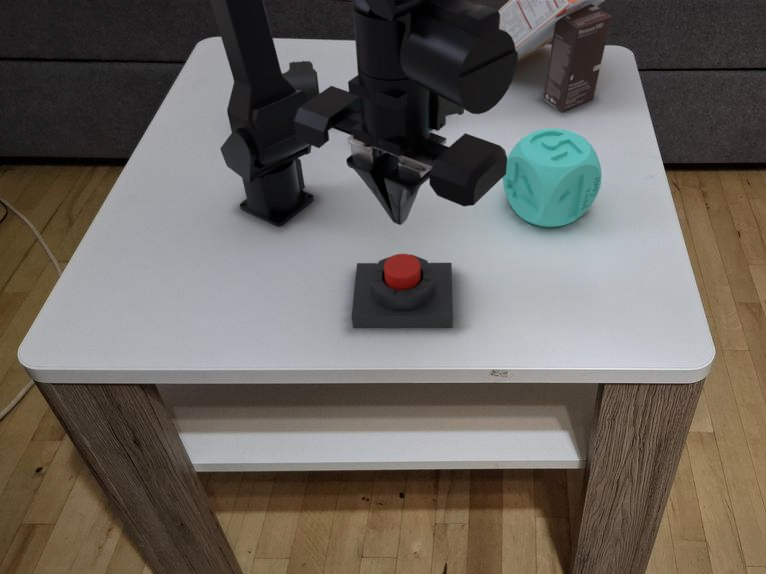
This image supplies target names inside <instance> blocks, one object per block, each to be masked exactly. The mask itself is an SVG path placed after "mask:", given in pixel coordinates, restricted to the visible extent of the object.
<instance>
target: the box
mask: <svg viewBox="0 0 766 574" xmlns="http://www.w3.org/2000/svg"><path fill="white" fill-rule="evenodd" d="M612 18H613V16H612V15H611V14H609V13H608V12H606V11H605V10H603V9H601V8H600V7H598V6H597V7H596V6H594V5H593V4H590V5H588V6H586V7H584V8H581V9H579V10H577V11H575V12H573V13H570V14H568V15H566V16H564V17H562V18H560V19H559V20H558V21H557V22H555V28H554V34H553V40H552V41H551V47H550V53H549V60H548V65H547V66H548V67H547V72H546V77H545V83H544V90H543V95H542V99H543V100H544V102H545V103H547V104H548V105H550V106H551V107H553V108H555V109H556V110H558V111H559V112H561V113H563V112H565V111H567V110H570V109H572V108H575V107H577V106H579V105H582V104H584V103H588V102H590V101H593V100H594V97H595V93H596V88H597V84H598V78H599V75H600V71H601V66H602V60H603V57H604V52H605V49H606V48H605V47H606V43H607V39H608V34H609V30H610V26H611V22H612Z"/></svg>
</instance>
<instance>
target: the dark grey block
mask: <svg viewBox="0 0 766 574" xmlns="http://www.w3.org/2000/svg"><path fill="white" fill-rule="evenodd" d="M288 66H289V68H288V70H287V71H286V72H282V74H283V76H284V77H285V78H286V79H287V80H288V81H289V82H290V83H291V84H292V85H293V86H294V87H295V88H296V89H297V90H302V91H303V92H304V93H305V94H306V96H307V97H308V101H309V100H311V99H312V98H314V97H315V96H317V95H318V94H320V93H321V92H320V87H319V79H318V72H317V71H316V69H315V68H314V64H313V63H312V61H310V60H302V61H292V62H291V61H290V62H288Z"/></svg>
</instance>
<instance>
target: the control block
mask: <svg viewBox="0 0 766 574" xmlns="http://www.w3.org/2000/svg"><path fill="white" fill-rule="evenodd" d="M411 255H412V256H414V257H416V258H417V259H418V260H419V262H420V273H421V279H420V282H419V283H418V285H417V286H415V287H414V288H411V289H409V290H396V289H393V288H391V287H389V286H388V285H387V283H386V282H385V274H384V264H385V262H386V260H387V259H388V258H390V257H391V256H392V255H390V256H388V257H386V258H383V259H380V260H379V261H378V262H357V263H356V269H355V279H354V288H353V289H354V290H353V298H352V308H351V324H352V329H453V328H454V327H453V326H454V310H453V309H454V307H453V306H454V305H453V273H452V271H453V270H452V267H453V266H452V265H453V264H452V262H429V261H428V260H426V259H425V258H422V257H419V256H417V255H414V254H411Z"/></svg>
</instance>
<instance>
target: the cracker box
mask: <svg viewBox="0 0 766 574" xmlns="http://www.w3.org/2000/svg"><path fill="white" fill-rule="evenodd" d="M604 1H605V0H508V1H507V2H506V3H505V4H504V5H502V6H501V8H499V10H498V11H499V13H500V24H499V29H501V30H504V31H506V32H507V33H508V34H509V35H510V36H511V37H512V39H513V41H514V44H515V49H516V51H517V52H518V61H519V60H520V59H523V58H524V57H526V56H529V55H530V54H532V53H534V52H536V51H538V50H540V49H542V48H544V47H545V46H547V45H548V44H550V43H552V41H553V34H554V28H555V22H557V21H558V20H559V19H560V18H562V17H564V16H566V15H568V14H570V13H573V12H575V11H577V10H579V9H581V8H584V7H586V6H588V5H590V4H593V5H594V6H596V7H598V6H600V5H601V4H603V3H604Z"/></svg>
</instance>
